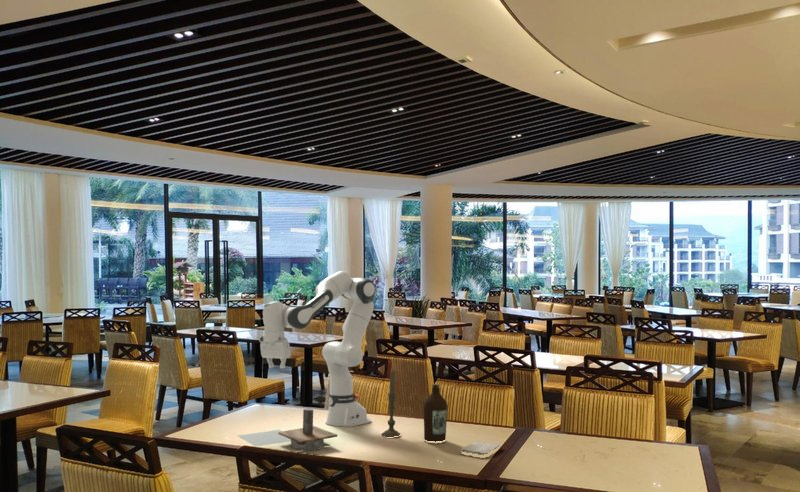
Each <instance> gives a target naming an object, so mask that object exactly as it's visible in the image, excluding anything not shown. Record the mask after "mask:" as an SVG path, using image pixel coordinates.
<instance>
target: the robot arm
mask: <svg viewBox="0 0 800 492" xmlns="http://www.w3.org/2000/svg"><path fill="white" fill-rule="evenodd" d="M376 287H377V286H376V284H375V283H374V281H373V280H372V279H370V278H367V277H365V278H363V277H351V275H350V274H349V272H347V271H345V270H339V271H336V272H334V273H332V274H329V276H327V277H326V278H324V279H322V280H321V281H320V282H319V283H318V284H317V285H316V286H315V291H314V292H315V297H314V298H312V299H310V301H308V302H307V303H306V304H304V305H299V306H289V305H286V304H285V303H282V302H281V301H280V300H274V301H270V302H268V303H265V304H264V305H263V308H262V319H263V321H262V322H263V325H264V330H263V332H264V333H263V335H261V336H260V337H259V338H258V339H259V342H260V345H259V347H260V348H259V349H260V355H261V357H262V358H263V359H264V358H265V359H266V361H267V364H268V368H270V369H272V368H275V364H274V362H273V359H280V360H279V361H281V362H280V364H279V368H280V369H285V368H286V361H287V359H290V358H291V357H292V351H291V346H290V345H291V344H290V342H289V341H288V339H287V338H286V337H285V328H287V329H298V330H301V329H302V330H303V329H305V328H307V327H309V325H310V323H311V322H312V320H313V318H314V317H315V316H316V315H317V314H319V312H321V311H322V310H323V309H324V308H326V307H327V306H328V305H329V304H330V303H332V302H334V301H336V299H338V298H340V297H343V298H345V299H347V300H352V306H351V308H350V310H349V312H348V315H347V316H346V318H345V320H344V323H343V324H342V327H341V328H342V329H341V331H342V332H343V336H342V340H341V341H338V340H336V341H335V340H334V341H329V342H326V343H325V344H324V346H322V347H323V348H322V350H321V354H322V358H323V359H324V361H325V364H326V365H327V369H328V370H327V371H328V373H329V374H328V375H329V394H328V412H327V416H326V421H325V423H326V425H329V426H334V427H346V428H347V427H348V428H350V427H356V426H359V425H360V426H361V425H365V424H368V423H369V422H370V423H372V419H371V418H369V417H368V414H367V409H366V408H365V407H364V406H363V405H362V404H360V403H359V402H358V401H357V400H358V399H359V398H360V395H359V394H357V393H353V391H354V390H353V389H354V388H353V387H354V386H353V381H354V380H353V376H352V374H351V372H350V370H349V368H353V367H357V366H359V365H360V364H361V363H362V361H363V356H364V353H363V351H362V341H363V337H364V335H365V332H366V331H367V327H368V325H369V323H370V320H371V318H372V316H373V312H374V307H375V305H374V302H373V301H374V298H375V295H376V291H377V290H376V289H377V288H376Z"/></svg>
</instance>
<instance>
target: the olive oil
mask: <svg viewBox="0 0 800 492" xmlns="http://www.w3.org/2000/svg"><path fill="white" fill-rule="evenodd" d="M431 386H432V387H431V394H430V395H429V396H427V398H425V400H424V403H423V436H424V437H423V439H425V440H427V441H435V442H436V441H443V440H445V439H446V438H447V437H446V436H447V421H448V420H447V419H448V403H447V401H446V399H445V397H443V395H441V393H440V391H441V390H440V384H438V383H433V384H432V385H431ZM446 440H447V439H446Z"/></svg>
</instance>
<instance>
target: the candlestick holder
mask: <svg viewBox="0 0 800 492" xmlns="http://www.w3.org/2000/svg"><path fill="white" fill-rule="evenodd" d="M389 373H390V374H389V393H388V394H387V396H388V402H389V403H390V404H389V419H388V420H387V424H388V428H387V429H386V430H385V431H383V432H382V433H381V435H382V436H385V437H394V436H399V435H400V434H401V433H400V432H399V431H397V430H395V428H394V426H395V425H396V420H395V419H394V410H395V404H394V403H395V402H396V397H397V394H396V393H395V391H396V390H395V389H396V386H395V385H396V383H395V382H396V380H395V379H396V378H395V377H396V374H395V373H396V371H395V370H394V369H393V368H392V370H390V372H389ZM381 435H380V436H381ZM382 436H381V437H382ZM385 437H384V438H385Z"/></svg>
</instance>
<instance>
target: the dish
mask: <svg viewBox="0 0 800 492" xmlns="http://www.w3.org/2000/svg"><path fill="white" fill-rule="evenodd" d="M324 441H325V439H322V440H316V441H311V442H305V443H298V442H296V441H294V440H291V441H290V445H291V447H292V448H294V449H297V450H298V449H299V450H301V451H305V452H306V451H316V450H320V449H322V448H323V446H324Z"/></svg>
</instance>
